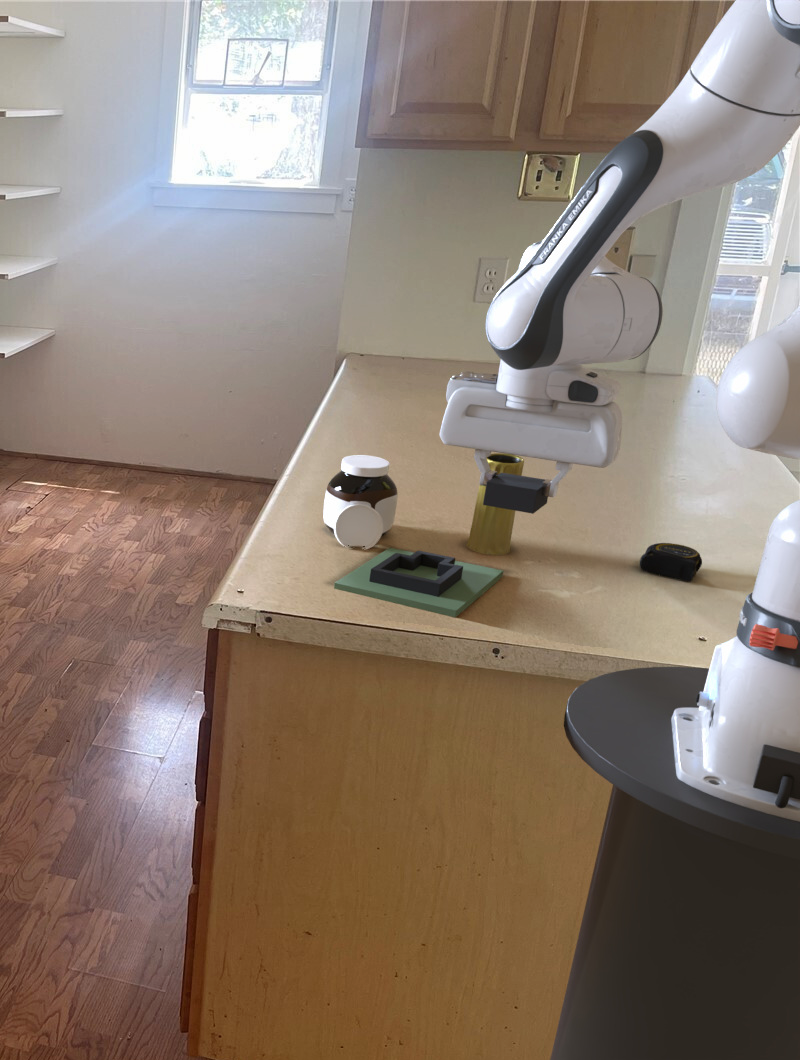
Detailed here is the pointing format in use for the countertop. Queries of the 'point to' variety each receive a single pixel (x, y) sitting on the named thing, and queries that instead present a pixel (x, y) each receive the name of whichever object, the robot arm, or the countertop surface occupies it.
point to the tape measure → (671, 561)
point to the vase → (494, 512)
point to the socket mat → (421, 581)
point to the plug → (515, 493)
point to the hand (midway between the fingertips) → (517, 490)
